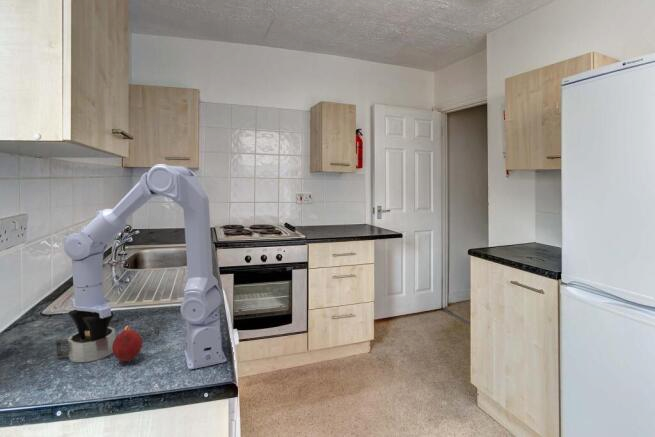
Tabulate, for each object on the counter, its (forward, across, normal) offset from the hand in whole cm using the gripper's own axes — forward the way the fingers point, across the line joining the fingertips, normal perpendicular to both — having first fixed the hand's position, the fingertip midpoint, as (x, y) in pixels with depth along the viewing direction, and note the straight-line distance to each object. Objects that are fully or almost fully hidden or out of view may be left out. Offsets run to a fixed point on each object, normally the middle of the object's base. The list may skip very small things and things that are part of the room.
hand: (92, 341), depth 82 cm
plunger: (+2, 0, 0) cm, 2 cm away
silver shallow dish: (+3, +1, +1) cm, 3 cm away
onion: (+3, -11, -2) cm, 11 cm away
